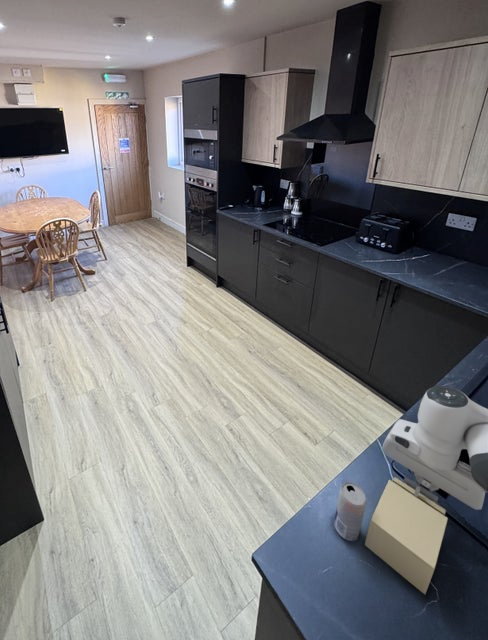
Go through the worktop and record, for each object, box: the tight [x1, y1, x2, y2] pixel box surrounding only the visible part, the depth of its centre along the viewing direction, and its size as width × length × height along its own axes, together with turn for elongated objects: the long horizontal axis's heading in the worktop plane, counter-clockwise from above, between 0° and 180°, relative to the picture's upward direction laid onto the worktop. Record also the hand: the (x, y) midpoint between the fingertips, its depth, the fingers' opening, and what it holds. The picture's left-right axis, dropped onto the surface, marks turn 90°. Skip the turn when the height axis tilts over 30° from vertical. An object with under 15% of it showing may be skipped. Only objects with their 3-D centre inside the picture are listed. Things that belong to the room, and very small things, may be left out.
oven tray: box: [392, 476, 447, 516], centre depth 76 cm, size 16×10×7 cm, turn 133°
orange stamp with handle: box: [414, 485, 421, 498], centre depth 76 cm, size 8×3×2 cm
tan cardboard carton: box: [364, 479, 449, 595], centre depth 72 cm, size 13×12×9 cm
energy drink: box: [333, 481, 367, 542], centre depth 75 cm, size 5×5×12 cm
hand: (424, 488), depth 81 cm, fingers closed
